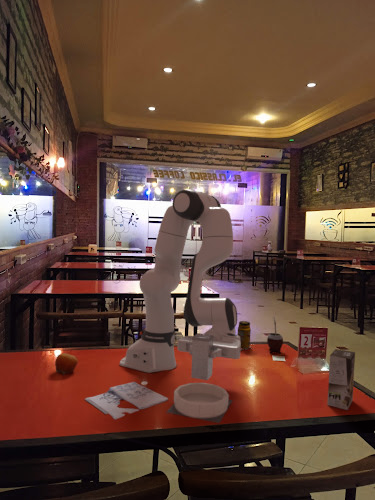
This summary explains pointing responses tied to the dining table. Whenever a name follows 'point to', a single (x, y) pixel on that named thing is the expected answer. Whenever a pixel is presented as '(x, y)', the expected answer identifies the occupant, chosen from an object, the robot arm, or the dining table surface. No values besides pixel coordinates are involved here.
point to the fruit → (65, 363)
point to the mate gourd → (275, 341)
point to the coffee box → (341, 379)
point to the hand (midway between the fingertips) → (201, 353)
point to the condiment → (244, 334)
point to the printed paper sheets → (127, 392)
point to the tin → (202, 356)
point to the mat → (215, 419)
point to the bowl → (201, 400)
